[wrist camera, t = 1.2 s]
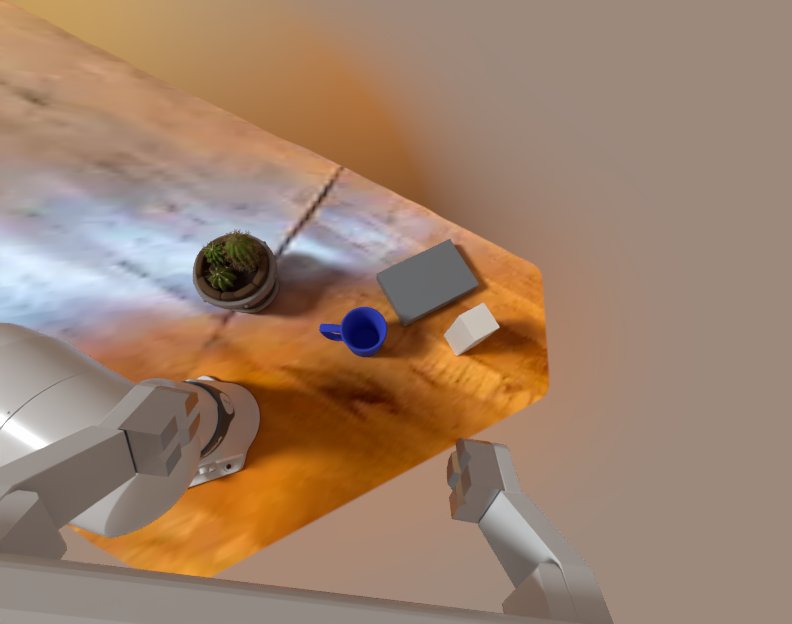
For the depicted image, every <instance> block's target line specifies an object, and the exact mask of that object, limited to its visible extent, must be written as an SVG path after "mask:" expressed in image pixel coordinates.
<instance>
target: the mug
mask: <svg viewBox="0 0 792 624" xmlns="http://www.w3.org/2000/svg"><path fill="white" fill-rule="evenodd" d="M319 330H320V332H321V333H322V334H323V335H324V336H325V337H326V338H328V339H330V340H335V341H344V342H345V344H346V345H347V346H348V347H349V348H350V350H351V351H352V352H353V353H354V354H356V355H358V356H361V357H369V356H372V355H374V354H376V353H377V352H378V351H379V350H380V348H381V346H382V344H383V342H384V340H385V338H386V334H387V324H386V321H385V319H384V317H383V316H382V315H381V314H380V313H379V312H378V311H377V310H375V309H372V308H369V307H359V308H356V309H353V310H352V311H350V312H349V313H348V314H347V315H346V316H345V317H344V319H343V321H342V323H341V325H335V324H321V325H320V329H319ZM331 332H336V333H340V334H341V335H339V334H333V333H331Z"/></svg>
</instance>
